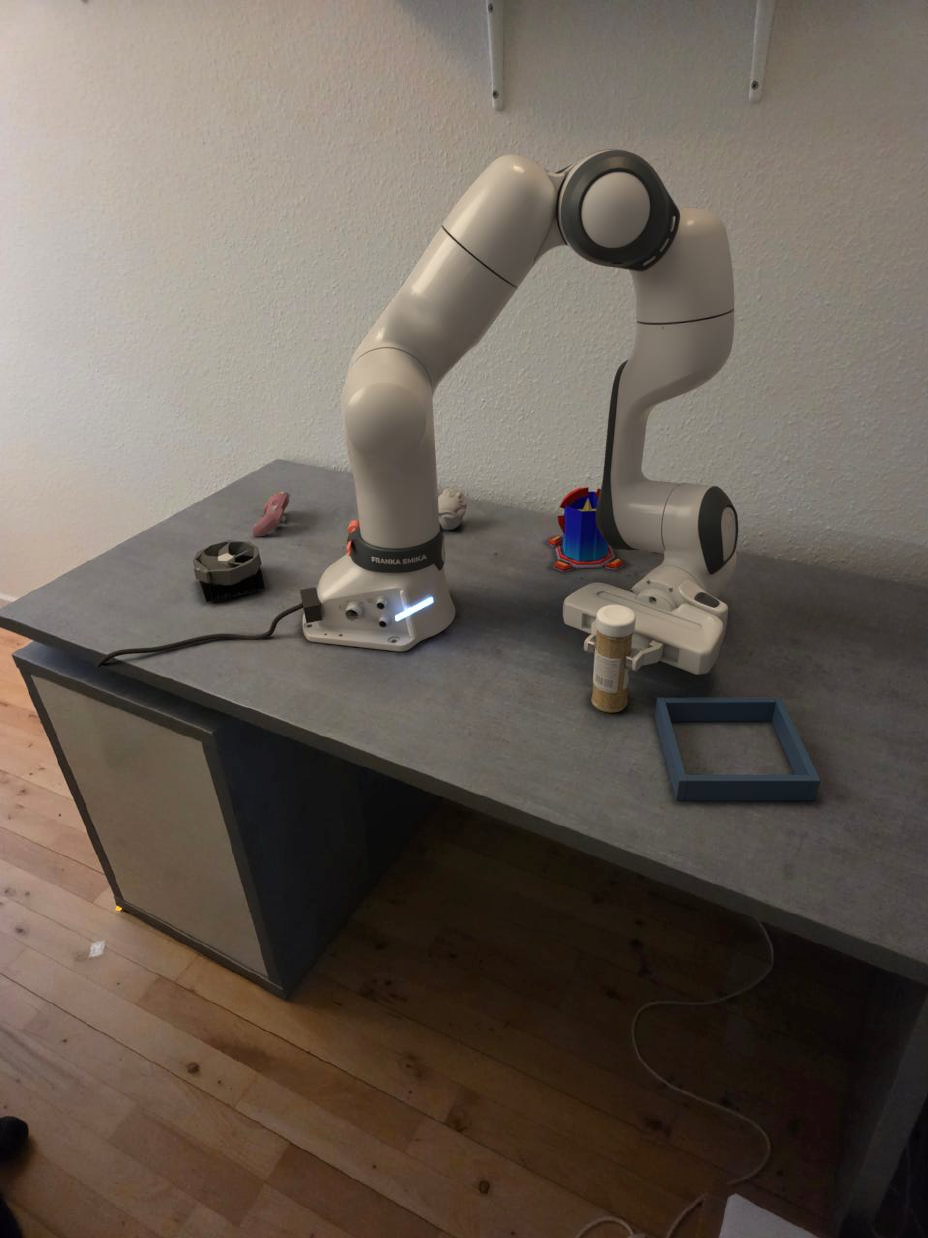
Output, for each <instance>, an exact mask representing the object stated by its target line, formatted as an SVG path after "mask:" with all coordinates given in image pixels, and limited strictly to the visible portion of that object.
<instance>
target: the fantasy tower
mask: <svg viewBox="0 0 928 1238" xmlns="http://www.w3.org/2000/svg"><path fill="white" fill-rule="evenodd" d="M589 489H590V488H589V486H587V487H585V486H584V487H578V488H576V489H573V490H571V491H570V492H568V493H567V495H566V496H565V497H563V499H562V500H561V502H560V505H559V508H560V509H563V515H557V523H558V526H559V528H560V530H561V532H562V535H555V536H553V537H552V538H550V539H549V540H547V542H546V544H547V545H548V546H549V547H551V548H553V549H554V552H555V556H556V560H557V561H556V562H555V563H554V565H553V566H552V569H553V570H556V571H559V572H560V573H563V574H564V573H567V572H571V571H573V570H575V569H597V568H598V569H600V568H604V569H607V570H612V571H619V570H620V569H622V568H623V567H625V566H626V564H625V563H624V562H623V560H621V559H620V558H619V557H617V556H615V554H614V553H615V552H614V551H613V548H612V547H611V546H610V545H609V544H608V543H607V542H606V541H605V539H604V538H603V537H602V535H601V534H600V532H599V530H598V528H597V525H596V508H597V503H598V498H599V494H600V490H601V488H598V487H597V490H596V491H594V490H593V491H589Z"/></svg>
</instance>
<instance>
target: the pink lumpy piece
mask: <svg viewBox="0 0 928 1238" xmlns="http://www.w3.org/2000/svg"><path fill="white" fill-rule="evenodd" d="M290 497H291V493H288V492H286V491H280V490H278V491H277V492H275V493H274V494H272V496H270V498H269V500H268V501H267V502H265V504H264V506H263V507H262V513H263V514H264V516H263V517H261V519H260V520H258V521H257V522H256V523H255V524H254V525H253V527H252V530H251V531H252V534H253V536H255V537H263V536H266V535H268V534H270V533H271V532H272V531H273V530H275V531H276V530H277V529H278V526H279V524H280V523H283V522H285V520H286V515H285V514H284V512H285V510H286V508H287V507H288V505H289V503H290Z"/></svg>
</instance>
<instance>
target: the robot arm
mask: <svg viewBox="0 0 928 1238" xmlns="http://www.w3.org/2000/svg"><path fill="white" fill-rule="evenodd" d="M728 237H729V236H728V232H727V228H726V225H725V223H724V221H723V220H722V219H721V217H720V216H719V215H717V213H715V212H713V211H711V210H709V209H705V208H702V207H696V206H687V207H678V206H677V204H676V203H675V201H674V199H673V198H672V197H671V194H670V193H669V191H668V189H667V188H666V186H665V184H664V182H663V180H662V178H661V177H660V175H659V174H658V172H657V171H656V170H655V168H654V167H653V166H652V165H651V164H650V163H649V162H648V161H647V160H645V158H643V157H642V156H640V155H638V154H636V153H634V152H631V151H627V150H625V149H620V148H604V149H599V150H596V151H593V152H591V153H589V154H587V155H585V156H584V157H582V158H580V159H579V160H577V161H575V162H574V163H572V164H570V165H568V166H566V167H564V168H562V169H560V170H557V171H555V172H552V171H550V170H548V169H546V168H545V167H543V165H541V164H540V163H538V161H535V160H534V159H532V158H530V157H528V156H525V155H521V154H514V153H508V154H503V155H501V156H499V157H497V158H495V159H494V160H493V161H492V162H491V163H490V164H489V165H488V166H487V167H486V168H484V170H483V171H482V173H480V175H479V176H478V177H477V178H476V179H475V180H474V182H472V184H470V186H469V187H468V189H467V190H466V191H465V192H464V193H463V194H462V196H461V197H460V198H459V200H458V201H457V202H456V204H455V205H454V206H453V208H452V209H451V210H450V212H449V214H448V215H447V217H446V218H445V220H444V221H443V222H442V225H440V227H439V229H438V230H437V232H436V233H435V235H434V236H433V238H432V239H431V241H430V243H429V244H428V246H427V248H426V249H425V251H424V252H423V254H422V255H421V256H420V258H419V259H418V261H417V263H416V265H415V266H414V268H413V269H412V270H411V273H409V276H408V277H407V279H406V280H405V282H404V283H403V284H402V286H401V287H400V289H399V290H398V291H397V293H396V294H395V295H394V297H393V298H392V299H391V301H390V302H389V303H388V304H387V306H386V308H385V309H384V310H383V311H382V313H381V314H380V316H379V317H378V319H377V320H376V321H375V322H374V324H373V325H372V327H371V328H370V329H369V331H368V332H367V334H366V335H365V337H364V338H363V340H362V341H361V342H360V344H359V345H358V347H357V349H356V350H355V352H354V353H353V355H352V356H351V359H350V361H349V365H348V369H347V372H346V376H345V379H344V380H345V381H344V385H343V388H342V392H341V395H340V396H341V397H340V400H339V401H340V403H339V408H340V416H341V423H342V428H343V434H344V435H343V436H344V440H345V445H346V450H347V456H348V460H349V464H350V465H349V466H350V469H351V473H352V477H353V483H354V490H355V498H356V499H355V500H356V507H357V516H358V519H352V520H351V521H350V522H349V525H348V527H347V534H348V535H347V539H346V544H347V545H346V552H347V553H346V554H344V555H343V556H342V557H340V558H339V559H336V560H335V562H333V563H332V564H330V565H329V566H327V568H326V569H325V570H324V572H323V573H322V575H321V577H320V578H319V582H318V583H317V587H309V588H303V589H300V590H299V593H300V599H301V602H300V603H298V604H296V605H294V606H291V607H290V608H288V609H285V610H284V611H282V612H280V613H279V614H277V615H276V616H275V618H273V620H272V621H271V624H270V627H269V629H268V631H266V632H264V633H261V634H258V635H243V634H236V633H213V634H207V635H202V636H196V637H192V638H188V639H184V640H180V641H176V642H172V643H167V644H163V645H158V646H151V647H137V648H136V647H133V648H125V649H119V650H114V651H112V652H109V653H107V654H105V655H104V656H103V657H101V658H100V659H99V660H98V661H97V662H96V664H95V666H94V667H95V668H100V667H102V666H103V665H104V664H106V662H108V661H109V660H111V659H113V658H116V657H119V656H125V655H134V654H135V655H137V654H151V653H157V652H159V653H160V652H164V651H168V650H172V649H177V648H181V647H185V646H189V645H192V644H197V643H200V642H205V641H206V642H207V641H212V640H220V639H222V640H223V639H225V640H226V639H227V640H237V641H238V640H239V641H260V640H265V639H267V638H270V637H271V636H272V635H273V634H274V633H275V631H276V628H277V625H278V623H279V622H280V621H281V620H282V619H283V618H285V617H287V616H289V615H291V614H293V613H295V612H298V611H299V610H301V609H303V614H302V622H301V623H302V633H303V636H304V637H305V639H306V640H307V641H308V642H312V643H318V644H328V645H336V646H337V645H338V646H348V647H356V648H357V647H358V648H366V649H374V650H383V651H391V652H399V653H400V652H407V651H410V650H411V649H412V648H413V647H415V646H416V645H417V644H418V643H420V642H422V641H424V640H426V639H429V638H431V637H433V636H436V635H437V634H440V633H441V632H443V631H445V630H446V629H447V628H448V627H449V626H450V625H451V624H452V622H453V621H454V619H455V616H456V607H455V604H454V603H453V600H452V596H451V595H450V591H449V587H448V583H447V578H446V573H445V567H444V566H445V561H446V545H445V542H446V541H445V535H444V529H443V528H442V525H441V524H440V523H439V506H438V497H439V492H438V491H439V489H438V473H437V472H438V471H437V455H436V442H435V441H436V437H435V420H434V419H435V418H434V417H435V416H434V399H433V397H434V395H435V393H436V390H437V388H438V386H439V385H440V384H441V382H442V381H443V380H444V378H445V377H446V376H447V375H448V374H449V373H450V371H451V370H452V369H453V368H454V367H455V366H456V365H457V364H458V363H459V362H460V361H461V359H463V357H464V356H466V354H467V353H468V352H470V350H472V349H473V348H475V347H477V345H479V343H480V342H481V341H482V339H483V338H484V336H485V335H486V334H487V332H488V331H489V329H490V328H491V326H492V325H493V324H494V323H495V321H496V320H497V319H498V317H499V316H500V314H501V313H502V312H503V310H504V308H505V307H506V305H507V304H508V303H509V301H510V300H511V298H512V297H513V296H514V295H515V293H516V291H518V289H519V288H520V286H521V285H522V283H523V282H524V280H525V279H526V277H527V276H528V274H529V273H530V271H532V269H533V267H534V266H535V265H536V264H537V263H538V262H539V260H540V259H541V258H542V257H544V256H545V255H546V254H547V253H549V251H551V250H553V249H555V248H557V247H562V246H563V247H565V246H567V247H569V248H570V250H572V252H573V253H575V254H576V255H578V256H579V257H580V258H582V259H584V260H585V261H587V262H589V263H591V264H594V265H598V266H602V267H608V268H616V269H621V270H622V269H623V270H628V271H629V274H630V275H631V278H632V281H633V286H634V291H635V300H636V301H635V311H636V312H635V313H636V333H635V340H634V343H633V344H634V345H633V348H632V351H631V353H630V355H629V358H628V359H626V360H624V362H622V363H621V364H620V365H619V366H618V368H617V371H616V372H615V375H614V379H613V383H612V388H611V393H610V399H609V408H608V409H609V410H608V416H607V417H608V418H607V428H606V441H605V449H604V460H603V461H604V462H603V472H602V481H601V485H600V489H601V490H600V494H599V498H598V503H597V508H596V525H597V528H598V530H599V532H600V534H601V535H602V537H603V538H604V539H605V541H606V542H607V543H608V544H609V545H610V546H611V548H612V549H614V550H619V551H620V550H621V551H622V550H623V551H635V552H636V551H644V552H650V553H657V554H663V560H662V562H661V563H660V565H658V566H656V567H654V568H653V569H651V571H649V572H648V573H647V574H645V576H644V577H642V578H641V579H640V580H638V581H637V582H636V583H635V584H634V585H633V586H632V588H631V589H630V590H626V589H623V588H620V587H617V586H615V585H612V584H608V583H605V582H597V581H595V582H591V583H588V584H586V585H584V586H582V587H581V588H579V589H577V590H575V591H574V592H571V594H569V595H568V596H567V597H566V598H565V599H564V600H563V605H562V618H563V622H564V624H565V625H566V626H569V627H572V628H574V629H577V630H580V631H582V632H584V633H587V634H590V635H588V637H587V638H585V640H584V643H583V644H584V645H583V650H584V651H585V652H587V653H589V654H593V655H595V646H596V636H597V628H596V616H597V612H598V611H599V609H601V608H602V607H604V606H608V605H622V606H625V607H628V608H630V609H631V610H632V611H633V612H634V613H635V615H636V623H635V630H634V632H633V636H632V646H631V651H630V653H629V654H627V656H626V658H625V662H626V663H625V667H627V668H630V670H632V671H634V672H638V670H639V669H641V667H642V666H647V665H652V664H657V663H658V662H662V663H665V664H667V665H670V666H672V667H675V668H677V669H681V670H683V671H685V672H687V673H690V674H692V675H696V676H699V675H705V674H708V673H709V672H710V671H711V670H712V668H713V667H714V665H715V664H716V662H717V660H718V658H719V654H720V649H721V647H722V645H723V642H724V639H725V635H726V631H727V626H728V617H729V606H728V604H726V602H723V601H722V600H720V599H718V598H719V597H720V596H721V595H722V593H723V592H724V591H725V589H726V588H727V587H728V586H729V584H730V582H731V580H732V579H733V576H734V573H735V572H736V568H737V564H738V557H737V556H738V555H737V551H736V549H737V545H738V538H739V518H738V512H737V510H736V508H735V506H734V504H733V502H732V500H731V499H730V497H729V496H728V494H727V493H726V492H725V491H724V490H723V489H722V488H721V487H719V486H718V485H709V484H703V483H702V484H701V483H691V482H676V481H675V482H674V481H663V480H653V479H649V478H647V477H646V476H645V475H644V473H643V471H642V469H643V468H642V466H643V458H644V450H645V442H646V441H645V440H646V432H647V424H648V419H649V417H650V414H651V413H652V411H653V410H654V409H655V407H656V406H658V405H660V404H662V403H664V402H667V401H669V400H672V399H675V398H677V397H680V396H683V395H685V394H688V393H689V392H691V391H694V390H696V389H698V388H700V387H701V386H703V385H705V384H706V383H708V382H709V381H710V380H712V379H714V377H715V376H717V374H719V372H720V371H721V370H722V369H723V367H724V366H725V365H726V363H727V361H728V359H729V358H730V355H731V353H732V348H733V343H734V335H735V283H734V271H733V262H732V255H731V249H730V242H729V238H728Z"/></svg>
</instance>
